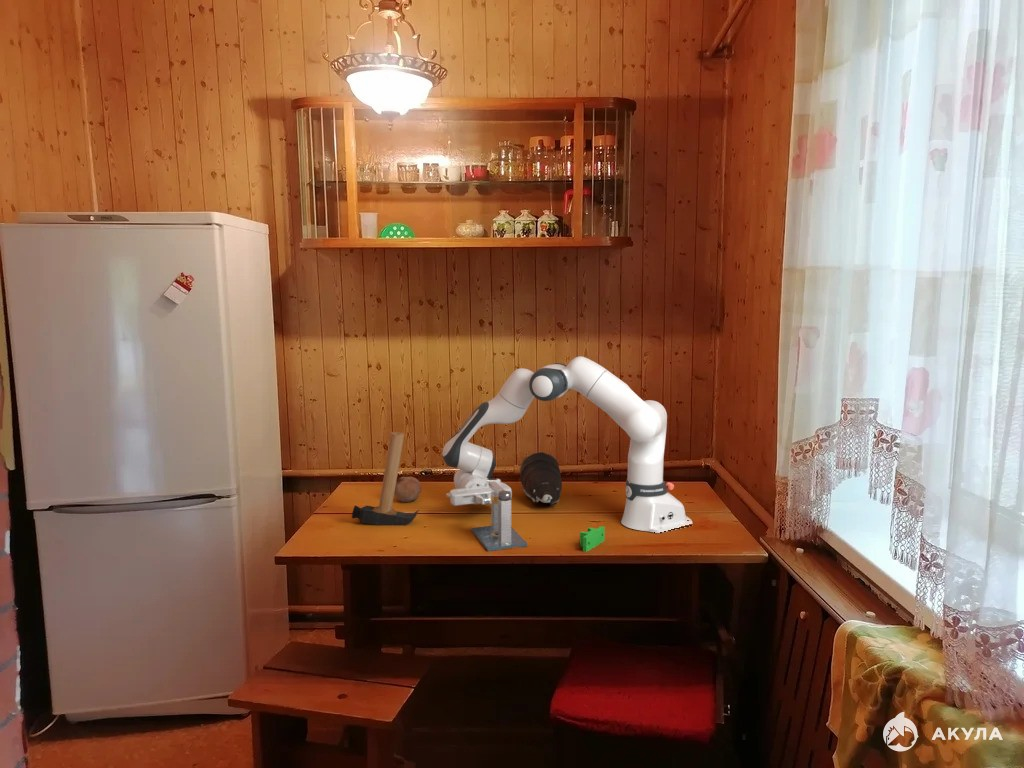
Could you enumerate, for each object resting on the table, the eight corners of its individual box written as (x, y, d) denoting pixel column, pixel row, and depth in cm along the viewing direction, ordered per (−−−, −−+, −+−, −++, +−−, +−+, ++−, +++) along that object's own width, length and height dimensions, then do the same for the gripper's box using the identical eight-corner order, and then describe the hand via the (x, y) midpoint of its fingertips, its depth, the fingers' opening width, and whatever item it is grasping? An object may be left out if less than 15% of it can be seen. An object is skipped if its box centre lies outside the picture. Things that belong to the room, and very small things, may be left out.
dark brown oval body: (528, 479, 232) (522, 448, 256) (521, 520, 237) (515, 486, 261) (572, 484, 234) (562, 453, 258) (564, 524, 239) (555, 490, 262)
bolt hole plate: (508, 526, 222) (508, 523, 222) (527, 546, 205) (527, 542, 205) (471, 530, 218) (471, 527, 218) (488, 551, 201) (487, 547, 201)
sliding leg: (500, 530, 214) (500, 490, 212) (504, 534, 211) (504, 493, 209) (490, 532, 213) (490, 491, 211) (494, 535, 210) (493, 494, 208)
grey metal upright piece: (497, 527, 218) (497, 480, 216) (512, 543, 205) (512, 493, 202) (486, 528, 217) (485, 481, 215) (500, 544, 203) (500, 494, 201)
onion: (398, 511, 247) (385, 488, 243) (405, 496, 255) (392, 474, 252) (422, 503, 244) (409, 480, 241) (428, 489, 253) (416, 466, 249)
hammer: (415, 527, 228) (431, 437, 224) (413, 532, 223) (429, 441, 219) (354, 515, 228) (369, 426, 224) (351, 520, 223) (365, 429, 219)
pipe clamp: (593, 539, 212) (593, 524, 211) (604, 541, 210) (604, 526, 209) (574, 550, 203) (575, 534, 202) (586, 552, 201) (586, 537, 200)
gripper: (444, 484, 232) (454, 495, 219) (503, 478, 238) (517, 488, 225) (445, 502, 233) (455, 515, 220) (504, 496, 239) (517, 507, 226)
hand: (487, 501), depth 223 cm, fingers closed
